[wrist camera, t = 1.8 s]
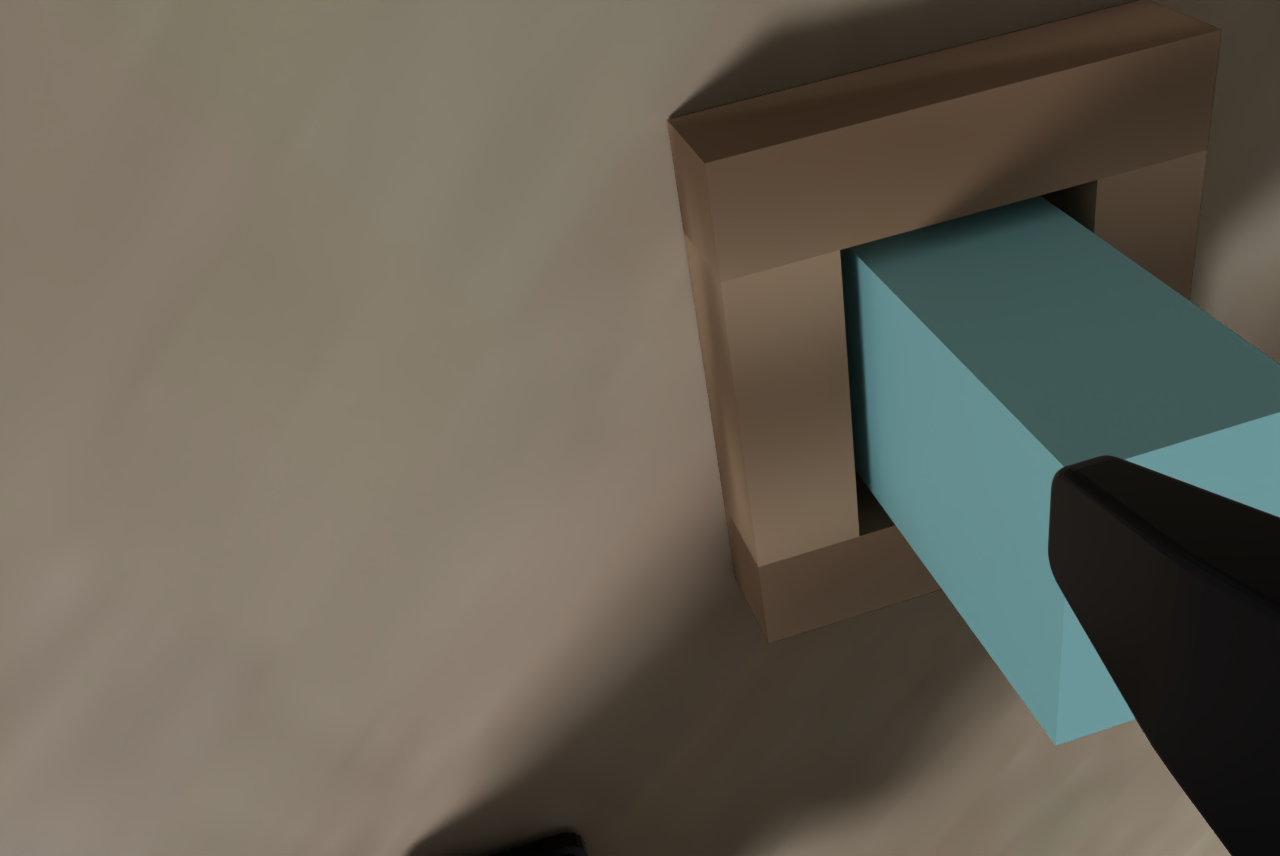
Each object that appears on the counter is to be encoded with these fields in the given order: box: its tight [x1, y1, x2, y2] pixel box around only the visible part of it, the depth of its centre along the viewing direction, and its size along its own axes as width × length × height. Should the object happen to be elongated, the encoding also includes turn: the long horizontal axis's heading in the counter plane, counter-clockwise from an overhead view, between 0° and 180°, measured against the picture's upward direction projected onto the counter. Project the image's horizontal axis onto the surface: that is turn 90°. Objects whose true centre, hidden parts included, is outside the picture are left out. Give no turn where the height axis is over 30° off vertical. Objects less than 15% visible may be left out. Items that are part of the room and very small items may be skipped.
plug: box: [840, 196, 1280, 746], centre depth 20 cm, size 5×4×8 cm
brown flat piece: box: [667, 0, 1222, 643], centre depth 22 cm, size 10×8×2 cm
